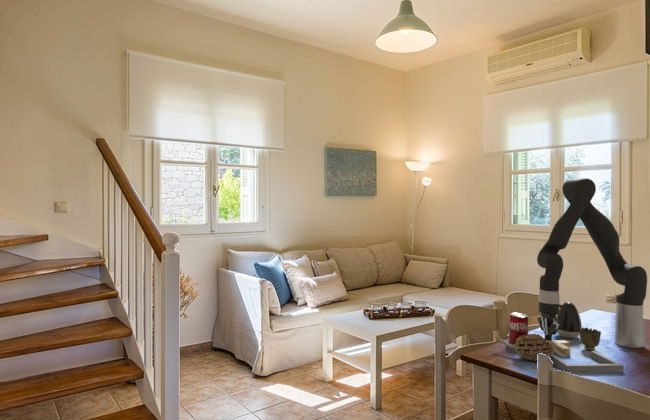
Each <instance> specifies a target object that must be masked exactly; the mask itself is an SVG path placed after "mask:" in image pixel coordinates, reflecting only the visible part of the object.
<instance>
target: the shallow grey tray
mask: <svg viewBox="0 0 650 420" xmlns="http://www.w3.org/2000/svg"><path fill="white" fill-rule="evenodd" d="M550 358H551V360H552V361H553V363H554V364H553V365H554V366H555V367H557V368H558V369H560V370H561V371H563V370H564V371H563V372H565V371H567V372H571V373H570V374H605V373H606V374H608V373H609V374H615V373H616V374H617V373H618V374H622V373H624V367H625V366H624V364H622V363H619V362H617V361H615V360H614V359H611V358H609V357H608V356H605V355H604V354H601V353H600V352H598V351H595V350H594V351H590V359H593V360H594V361H596V362H597V363H576V364H575V363H568V362H566V361H565V360H564V359H561V358H559V357H558V356H556V355H554V354H553V355H552V356H551V357H550Z"/></svg>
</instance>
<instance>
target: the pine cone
mask: <svg viewBox="0 0 650 420" xmlns="http://www.w3.org/2000/svg"><path fill="white" fill-rule="evenodd" d="M495 338H496V340H497V341H498V342H499V343H500V344H503V345H505V346H506V347H509V348H510V349H513V350H514V351H515V352H517V356H518V357H519V358H520V359H525V360H527V361H529V360H530V361H532V360H533V361H535V362H537V361H538V360H537V354H538V353H543V354H546V355H547V356H549V357H551V356H552V355H554V353H555V352H554V351H553V350H554V348H553V347H552V346H551V343H549V342H547V341H546V339H545V337H543V336H542V335H540V334H538V333H537V334H536V333H531V334H530V333H528V336H526V335H524V336H523V335H522V336H521V337H519V338H518V339H516V342H515V345H512V344H510V342H507V341H506V340H504V339H502V338H501V337H500V336H498V335H497V334H495Z"/></svg>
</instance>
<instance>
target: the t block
mask: <svg viewBox="0 0 650 420" xmlns="http://www.w3.org/2000/svg"><path fill="white" fill-rule="evenodd" d="M546 341H547V342H549V343H551V346H552V347H553V348H554V350H553V352H554V353H556V354H557V355H560V357H565V358H566V357H571V342H570V341H568V340H564V339H561V340H558V339H557V340H555V339H552V340H546Z"/></svg>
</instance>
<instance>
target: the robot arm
mask: <svg viewBox="0 0 650 420" xmlns="http://www.w3.org/2000/svg"><path fill="white" fill-rule="evenodd" d="M561 191H562V194H563V196H564V198H565V199H566V201H567V202H568V204H569V206H568V207H567V208H566V210H565V212H564V213H563V214H562V215H561V216H560V218H558V220H557V221H556V223H555V224H554V225H553V227H552V229H551V232H550V235H549V236H548V239H547V241H546V242H545V244H543V246H542V248H541V249H540V251H539V252H538V254H537V258H536V262H537V263H536V264H537V265H538V266H539V267H540V268H542V269H545V271H544V274H543V275H541V276H540V277H539V291H538V292H539V293H538V309H537V310H538V312H539V313H540V316H538V317H537V321H538V322H537V323H539V324H538V325H539V328H540V330H541V332H543V334H544V338H545V339H546V340H553V335H557V334H558V333H557V331H558V330H559V328H560V324H557V322H556V321H557V319H556V317H557V314H559V309H560V307H559V304H560V298H561V297H560V279H561V276H562V274H563V273H562V272H563V269H564V260H563V256H561V254H559V252H560V251H561V250H565V248H567V246H568V244H569V242H570V240H571V239H570V238H571V236H572V234H573V231H574V230H575V227H576V225H577V223H578V222H579V220H580V221H581V222H582V225H583V226H584V227H585V229H586V231H587V233H588V235H589V236H590V238H591V240H592V241H593V243H594V245H595V246H596V247H597V249H598V251H599V253H600V255H601V257H602V258H603V260H604V262H605V264H606V266H607V268H608V271H609V274H610V276H611V278H612V279H613V280H614V282H615V283H616V284H618V285H621V286H623V287H624V291H623V293H620V294H617V295H616V296H615V331H614V333H615V335H614V343H615V344H616V345H618V346H621V347H625V348H633V349H640V348H645V346H646V323H645V322H644V301H645V299H646V296H647V289H648V288H647V286H648V274H647V271H646V270H645V268H644V267H642V266H640V265H635V264H629V263H628V262H627V261H626V259H625V258H624V257H623V255H622V253H621V251H620V235H619V233H618V231H617V230H616V228H615V226H614V225H613V222H612V221H611V220H610V219H609V218H608V217H607V216H606V215H605V214H603V212H601V211H600V210H599V209H598V208H597V207H595V205H593V203H592V199H593V198H594V196H595V194H596V191H597V187H596V184H595V182H594V181H593V180H592V179H591V178H587V177H586V178H585V177H581V178H571V179H568V180H565V182H564V183H563V185H562V189H561Z"/></svg>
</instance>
